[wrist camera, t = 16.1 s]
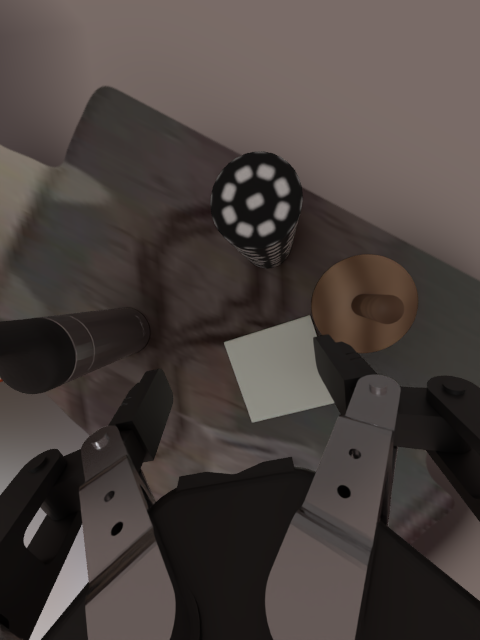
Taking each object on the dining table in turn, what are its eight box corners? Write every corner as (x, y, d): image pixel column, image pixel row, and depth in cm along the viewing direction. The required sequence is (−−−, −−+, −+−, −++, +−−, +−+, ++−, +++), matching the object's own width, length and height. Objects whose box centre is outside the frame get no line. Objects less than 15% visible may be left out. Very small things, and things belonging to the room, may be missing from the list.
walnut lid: (327, 361, 37) (342, 385, 28) (299, 275, 36) (305, 270, 27) (425, 335, 34) (477, 351, 25) (397, 240, 33) (441, 222, 24)
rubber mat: (252, 420, 45) (252, 422, 45) (224, 341, 44) (223, 342, 44) (337, 400, 42) (338, 402, 41) (309, 315, 41) (310, 315, 40)
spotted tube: (254, 276, 42) (232, 264, 22) (235, 232, 42) (196, 181, 22) (299, 255, 40) (317, 223, 21) (280, 209, 40) (280, 132, 20)
